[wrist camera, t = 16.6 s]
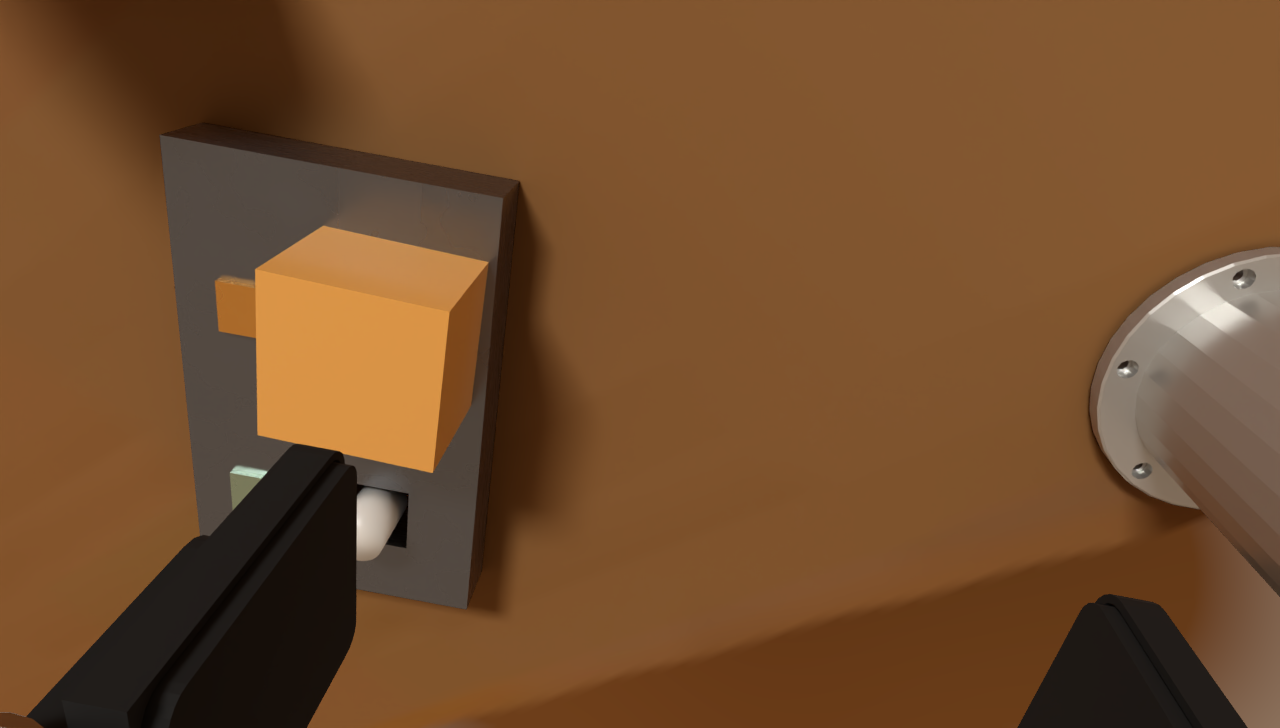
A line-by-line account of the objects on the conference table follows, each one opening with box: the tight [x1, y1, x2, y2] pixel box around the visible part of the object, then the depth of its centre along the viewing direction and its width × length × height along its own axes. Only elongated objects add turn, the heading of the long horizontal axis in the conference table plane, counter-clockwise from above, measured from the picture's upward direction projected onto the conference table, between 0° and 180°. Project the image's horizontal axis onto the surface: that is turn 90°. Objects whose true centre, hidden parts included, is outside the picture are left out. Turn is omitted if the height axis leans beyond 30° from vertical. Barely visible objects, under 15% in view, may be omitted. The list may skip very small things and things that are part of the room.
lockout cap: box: [255, 226, 489, 473], centre depth 32 cm, size 7×7×6 cm
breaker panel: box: [160, 123, 519, 609], centre depth 38 cm, size 14×22×3 cm, turn 171°
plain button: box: [357, 485, 407, 561], centre depth 39 cm, size 2×2×3 cm
